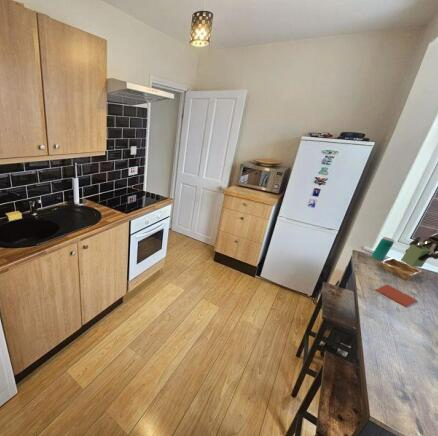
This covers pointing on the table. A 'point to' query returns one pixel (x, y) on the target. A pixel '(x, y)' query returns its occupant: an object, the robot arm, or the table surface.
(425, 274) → the table surface
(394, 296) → the mat
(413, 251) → the green basket
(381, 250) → the beverage can
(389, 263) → the rattan basket
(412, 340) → the table surface
